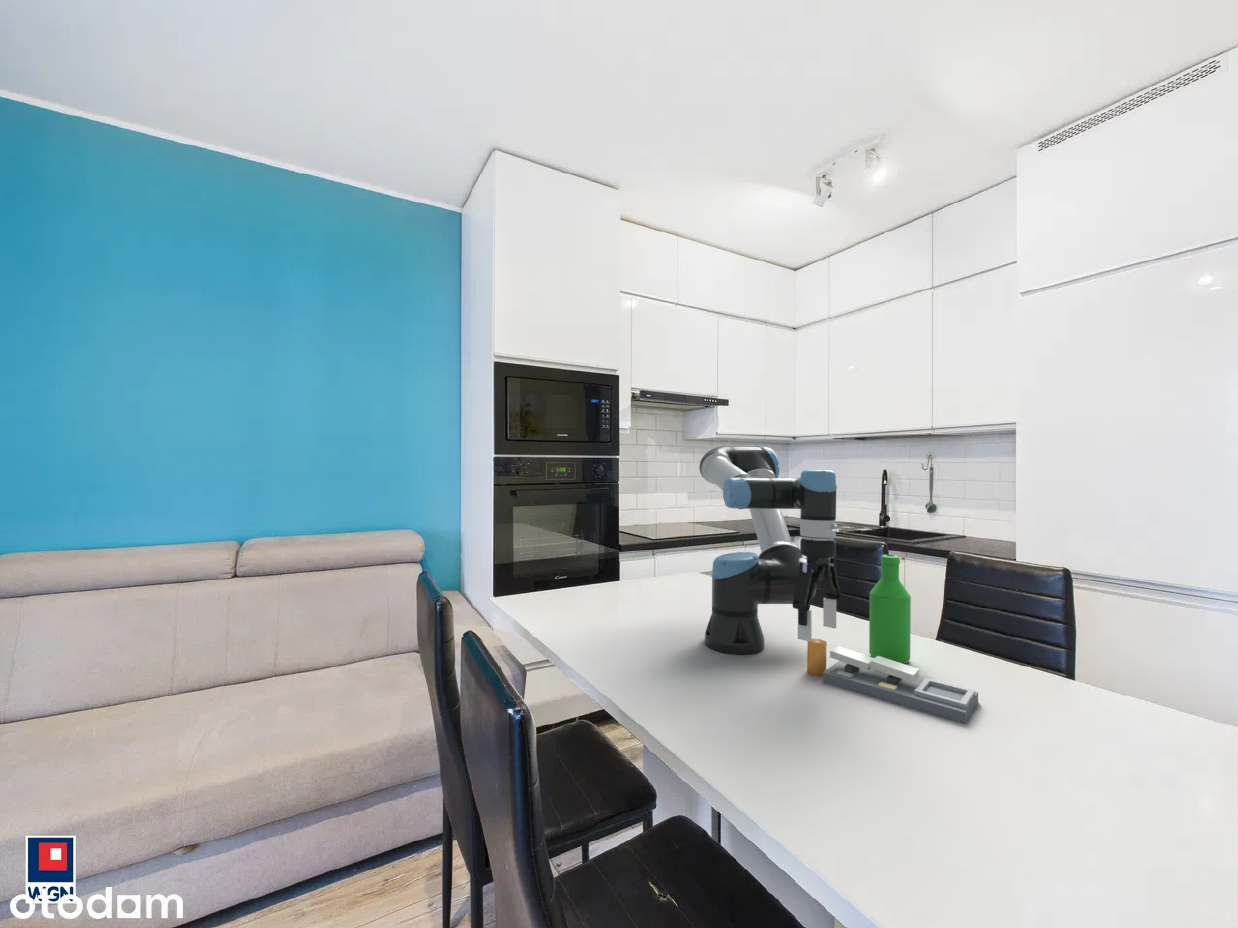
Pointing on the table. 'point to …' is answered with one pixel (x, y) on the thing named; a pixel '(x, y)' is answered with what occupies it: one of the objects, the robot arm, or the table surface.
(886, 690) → the panel
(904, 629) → the bottle
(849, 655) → the block
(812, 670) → the pin
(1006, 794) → the table surface
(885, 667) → the breaker
